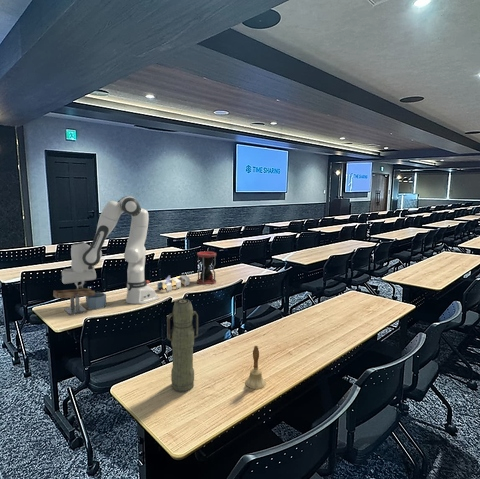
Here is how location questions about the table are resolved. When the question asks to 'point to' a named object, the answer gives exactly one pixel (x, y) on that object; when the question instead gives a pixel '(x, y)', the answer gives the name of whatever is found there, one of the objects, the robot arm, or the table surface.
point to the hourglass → (206, 267)
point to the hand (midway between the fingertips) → (79, 288)
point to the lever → (73, 293)
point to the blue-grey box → (96, 301)
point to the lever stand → (73, 308)
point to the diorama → (173, 282)
